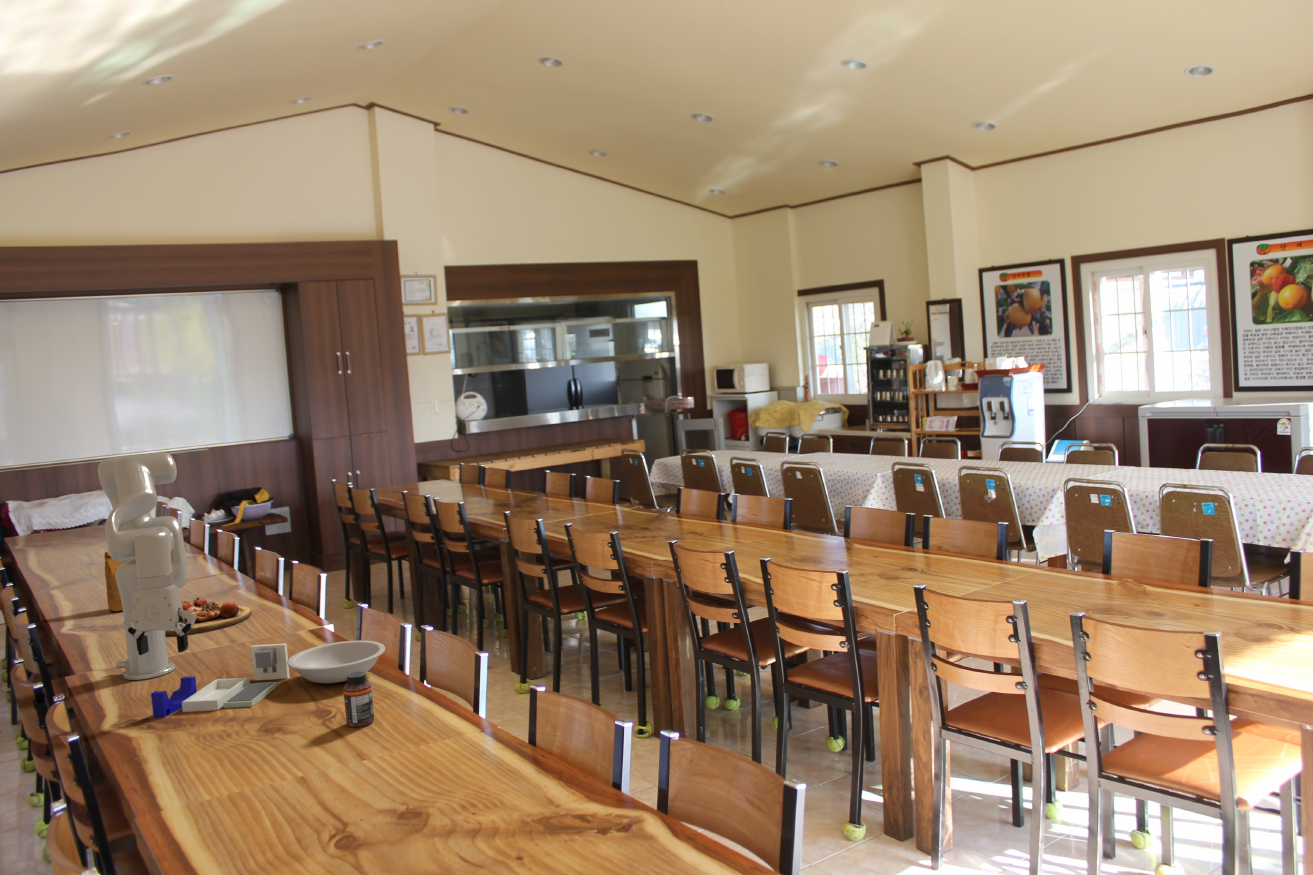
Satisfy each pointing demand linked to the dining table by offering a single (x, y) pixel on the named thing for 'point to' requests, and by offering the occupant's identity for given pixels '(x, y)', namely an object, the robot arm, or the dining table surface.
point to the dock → (214, 694)
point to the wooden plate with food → (212, 615)
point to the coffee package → (112, 583)
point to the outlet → (270, 661)
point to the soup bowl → (336, 660)
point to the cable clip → (172, 698)
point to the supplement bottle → (358, 700)
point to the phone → (250, 695)
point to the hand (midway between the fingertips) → (163, 652)
